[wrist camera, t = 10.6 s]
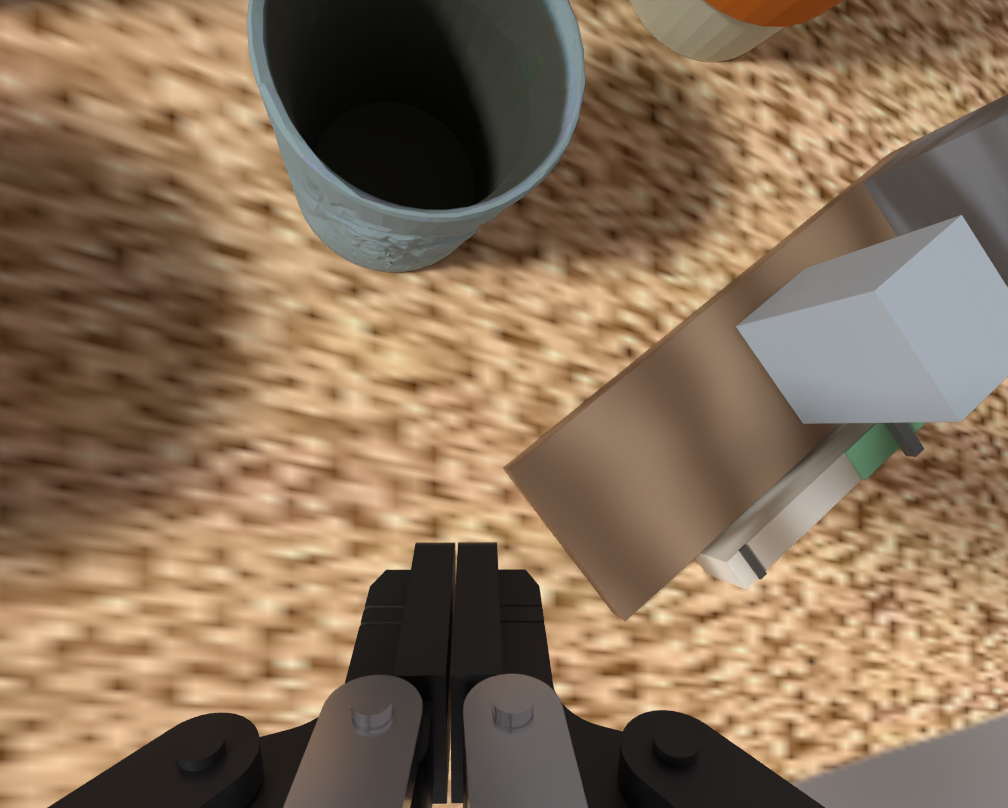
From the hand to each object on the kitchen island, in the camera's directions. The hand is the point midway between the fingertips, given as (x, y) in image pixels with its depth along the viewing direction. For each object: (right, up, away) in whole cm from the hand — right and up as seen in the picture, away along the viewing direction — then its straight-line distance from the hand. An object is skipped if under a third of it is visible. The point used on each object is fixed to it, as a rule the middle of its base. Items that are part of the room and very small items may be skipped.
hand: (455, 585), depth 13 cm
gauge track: (+14, +5, +23) cm, 28 cm away
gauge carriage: (+18, +6, +22) cm, 29 cm away
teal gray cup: (-4, +14, +19) cm, 24 cm away
